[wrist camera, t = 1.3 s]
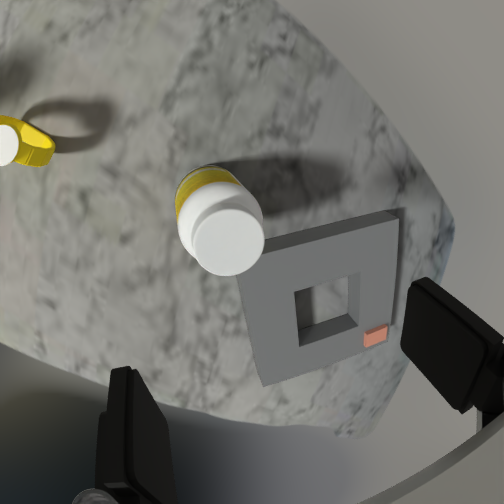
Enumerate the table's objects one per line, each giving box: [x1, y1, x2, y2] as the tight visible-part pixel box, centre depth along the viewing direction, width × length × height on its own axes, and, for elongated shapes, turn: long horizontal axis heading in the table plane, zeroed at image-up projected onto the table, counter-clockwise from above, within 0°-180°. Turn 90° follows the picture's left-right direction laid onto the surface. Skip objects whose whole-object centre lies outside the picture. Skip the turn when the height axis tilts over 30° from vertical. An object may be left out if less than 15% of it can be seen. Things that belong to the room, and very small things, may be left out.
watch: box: [0, 115, 55, 167], centre depth 17 cm, size 6×3×6 cm, turn 52°
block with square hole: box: [236, 211, 399, 387], centre depth 32 cm, size 16×16×3 cm
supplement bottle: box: [175, 165, 265, 276], centre depth 22 cm, size 5×5×10 cm
